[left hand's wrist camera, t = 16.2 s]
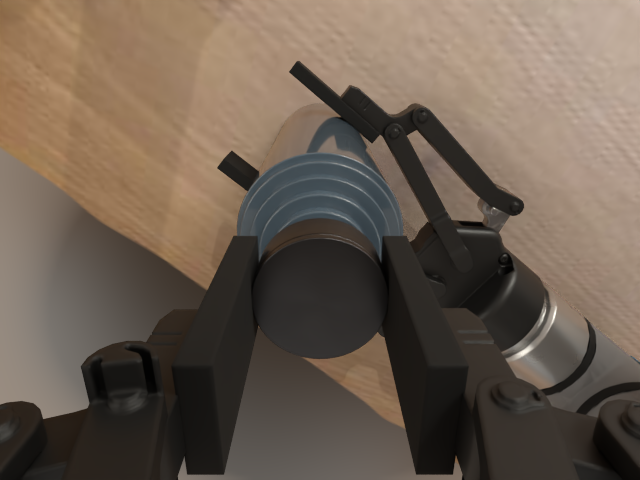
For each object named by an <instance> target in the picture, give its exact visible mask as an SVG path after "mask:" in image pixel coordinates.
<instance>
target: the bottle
mask: <svg viewBox="0 0 640 480" xmlns="http://www.w3.org/2000/svg"><path fill="white" fill-rule="evenodd" d="M312 218H327V219H334V220H338V221H341V222H344V223H347V224H349V225H351V226H353V227H355V228H356V229H358V230H359V231H361V232H362V233H363V234H364V235H365V236H366V237H367V238H368V239H369V240H370V241H371V243H372V244H373V246H374V247H375V249H376V251H377V253H378V255H379V258H380V261H381V255H382V237H383V236H403V220H402V214H401V210H400V207H399V204H398V202H397V200H396V197H395V195H394V193H393V191H392V190H391V188H390V186H389V184H388V182H387V180H386V178H385V177H384V175H383V173H382V171H381V169H380V167H379V165H378V164H377V162H376V160H375V158H374V156H373V154H372V152H371V151H370V149H369V147H368V145H367V143H366V141H365V139H364V138H363V136H362V134H360V133H359V132H358V131H357V130H356V129H355V128H354V127H352V126H351V125H350V124H349V123H348V122H347V121H345V120H344V119H343V118H342V117H341V116H340V115H338V114H337V113H336V112H335V111H334V110H333V109H331V108H330V107H329V106H328V105H327V104H311V105H307V106H305V107H302V108H300V109H299V110H297V111H296V112H294V113H293V114H292V115H291V116H290V117H289V118H288V119H287V120H286V122H285V123H284V125H283V127H282V129H281V130H280V132H279V134H278V136H277V138H276V140H275V142H274V143H273V145H272V147H271V149H270V151H269V153H268V155H267V156H266V158H265V160H264V162H263V164H262V166H261V168H260V169H259V171H258V173H257V175H256V177H255V179H254V181H253V182H252V184H251V186H250V188H249V190H248V192H247V194H246V195H245V198H244V200H243V202H242V205H241V207H240V211H239V215H238V221H237V236H258V253H259V262H260V259H261V256H262V253H263V251H264V249H265V247H266V246H267V244H268V243H269V242H270V240H271V239H272V238H273V237H274V236H275V235H276V234H277V233H279V232H280V231H281V230H282V229H284V228H286V227H287V226H289V225H291V224H294V223H296V222H299V221H302V220H306V219H312Z"/></svg>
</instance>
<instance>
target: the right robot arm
mask: <svg viewBox="0 0 640 480" xmlns="http://www.w3.org/2000/svg"><path fill="white" fill-rule="evenodd" d="M289 72H290V73H291V74H292V75H293V76H294V77H295V78H297V79H298V80H299V81H300V82H301V83H302V84H304V85H305V86H306V87H307V88H308V89H309V90H311V91H312V92H313V93H314V94H315V95H316V96H317V97H319V98H320V99H321V100H322V101H323V102H324V103H326V104H327V105H328V106H329V107H330V108H331V109H333V110H334V111H335V112H336V113H337V114H338V115H340V116H341V117H342V118H343V119H344V120H345V121H347V122H348V123H349V124H350V125H351V126H352V127H354V128H355V129H356V130H357V131H358V132H359V133H360V134H362V135H363V136H364V137H365V138H366V139H367V140H369V141H370V142H371V143H373V142H374V141H375V140H376V138H377V137H378V136H379V135H382V136H383V138H384V140H385V142H386V143H387V145H388V147H389V149H390V151H391V153H392V154H393V156H394V158H395V160H396V162H397V164H398V165H399V167H400V169H401V171H402V173H403V175H404V176H405V178H406V180H407V182H408V184H409V186H410V187H411V189H412V191H413V193H414V195H415V197H416V198H417V200H418V202H419V204H420V206H421V208H422V210H423V212H424V214H425V215H426V217H427V219H428V221H429V222H427V223H426V224H425V225H424V226H423V227H422V228H421V229H420V231H419V233H418V235H417V236H416V238H415V239H414V240H413V241H411V242H410V245H411V247H412V249H413V251H414V253H415V255H416V257H417V259H418V261H419V263H420V265H421V267H422V269H423V271H424V274H425V276H426V278H427V280H428V282H429V284H430V286H431V288H432V290H433V292H434V294H435V296H436V298H437V301H438V303H439V305H440V307H441V308H467V309H468V310H469V311H471V312H472V313H473V314H475V315H476V316H478V317H479V318H480V319H481V320H482V322H483V323H484V325H485V327H486V328H487V330H488V334H490V335H491V336H492V338H493V340H494V343H495V344H496V345H497V346H498V348H499V349H500V351H501V353H502V354H503V356H504V358H505V359H506V361H507V363H508V364H509V366H510V367H511V369H512V371H513V372H514V374H515V376H516V377H517V378H520V379H522V380H524V381H527V382H529V383H531V384H533V385H534V386H536V387H537V388H538V389H539V390H541V391H542V392H543V393H544V394H545V395H546V397H547V398H548V400H549V401H550V403H551V405H552V406H553V407H556V408H559V409H563V410H566V411H571V412H575V413H580V414H584V415H589V416H593V417H598V414H599V411H600V407H602V406H603V405H604V404H605V403H606V402H607V401H612V400H618V399H621V400H631V401H636V402H639V403H640V362H639V361H638V360H636V359H635V358H634V357H632V356H629V355H628V354H627V353H626V352H625V351H624V350H622V349H621V348H620V347H619V346H618V345H617V344H615V343H614V342H613V341H612V340H610V339H609V338H608V337H607V336H606V335H604V334H603V333H602V332H601V331H599V330H598V329H597V328H596V327H595V326H593V325H592V324H591V323H590V322H589V321H588V320H587V319H586V318H585V317H584V316H583V315H582V314H581V313H580V312H579V311H578V310H576V309H575V308H574V307H573V306H572V305H571V304H569V303H568V302H567V301H566V300H565V299H564V298H563V297H561V296H560V295H559V294H558V293H557V292H556V291H555V290H553V289H552V288H551V287H550V286H549V285H547V284H546V283H545V282H543V281H541V279H540V278H539V277H538V276H537V275H536V274H535V273H534V272H533V271H532V270H530V269H529V268H528V267H527V266H526V265H525V264H524V263H522V262H521V261H520V260H519V259H518V258H517V257H515V256H514V255H513V254H512V253H511V252H510V251H509V250H507V249H506V248H505V247H504V245H503V243H502V239H501V236H500V234H499V231H500V230H501V228H502V227H503V225H504V224H505V222H506V221H507V219H508V218H509V216H510V215H511V216H515V215H518V214H520V213H521V212H522V211H523V208H524V203H523V201H522V200H520V199H519V198H518V197H516V196H515V195H513V194H512V193H511V192H509V191H508V190H506V189H505V188H503V187H501V186H499V185H496V184H494V183H493V182H492V181H491V180H490V178H489V177H488V176H487V175H486V174H485V173H484V172H483V170H482V169H481V168H480V167H479V166H478V165H477V164H476V162H475V161H474V160H473V159H472V158H471V157H470V156H469V154H468V153H467V152H466V151H465V150H464V149H463V148H462V146H461V145H460V144H459V143H458V142H457V141H456V139H455V138H454V137H453V136H452V135H451V134H450V133H449V131H448V130H447V129H446V128H445V127H444V126H443V125H442V123H441V122H440V121H439V120H438V119H437V118H436V117H435V115H434V114H433V113H432V112H431V111H430V110H429V109H428V108H426V107H424V106H422V105H420V104H416V103H415V104H411V105H410V106H408V108H407V109H405V110H404V111H402V112H400V113H398V114H395V115H390V114H387V113H386V112H385V111H384V110H382V109H381V108H380V107H379V106H378V105H377V104H376V103H375V102H374V101H372V100H371V99H370V98H369V97H368V96H367V95H366V94H365V93H363V92H362V91H361V90H360V89H359V88H357V87H354V86H351V85H350V86H349V87H348V88H347V89H346V90H345V92H344V93H343V94H342V95H341V97H340V96H339V95H337V94H336V93H335V92H334V91H333V90H332V89H331V88H329V87H328V86H327V85H326V84H325V83H324V82H323V81H321V80H320V79H319V78H318V77H317V76H316V75H315V74H313V73H312V72H311V71H310V70H309V69H308V68H307V67H305V66H304V65H303V64H302V63H301V62H300V61H297V62H296V63H295V65H294V66H293V67H292V69H291V70H290V71H289ZM415 130H418V132H419V133H420V134H421V135H422V136H423V137H424V138H425V139H426V140H427V142H428V143H429V144H430V145H431V146H432V147H433V148H434V149H435V151H436V152H437V153H438V154H439V155H440V156H441V157H442V158H443V159H444V161H445V162H446V163H447V164H448V165H449V166H450V167H451V168H452V169H453V171H454V172H455V173H456V174H457V175H458V176H459V177H460V178H461V180H462V181H463V182H464V183H465V184H466V185H467V186H468V187H469V188H470V189H471V190H472V191H473V192H474V193H475V194H476V195H478V196H479V197H480V199H479V202H478V208H479V210H480V211H481V212H482V213H483V214H484V220H483V222H473V221H456V220H451V218H450V216H449V215H448V213H447V211H446V210H445V208H444V206H443V204H442V202H441V200H440V198H439V196H438V195H437V193H436V191H435V189H434V187H433V185H432V183H431V181H430V179H429V177H428V175H427V174H426V172H425V170H424V168H423V166H422V164H421V162H420V160H419V158H418V156H417V154H416V153H415V151H414V149H413V147H412V145H411V143H410V141H409V139H408V137H407V135H408V134H410V133H412V132H414V131H415ZM217 168H218V169H219V170H220V171H222V172H223V173H224V174H226V175H227V176H228V177H230V178H231V179H232V180H234V181H235V182H236V183H237V184H239V185H240V186H241V187H243V188H244V189H245V190H247V191H248V190H249V188H250V186H251V184H252V182H253V181H254V179H255V177H256V175H257V173H258V171H257V170H256V169H255V168H253V167H252V166H251V165H250V164H248V163H247V162H246V161H244V160H243V159H242V158H241V157H239V156H238V155H237V154H235V153H234V152H233V151H231V152H230V153H229V154H228V155H227V156H226V157H225V158H224V159H223V161H222V162H221V163H220V165H219V166H218V167H217ZM378 333H379V334H380V335H381V336H382V337H384V332H383V328H382V326H381V327H380V329H379V330H378Z"/></svg>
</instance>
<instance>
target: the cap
mask: <svg viewBox="0 0 640 480" xmlns="http://www.w3.org/2000/svg"><path fill="white" fill-rule="evenodd" d="M251 295H252V310H253V314H254V317H255V319H256V321H257V324H258V325H259V327H260V329H261V330H262V331H263V333H264V334H265V335H266V336H267V337H268V338H269V339H270V340H271V341H272V342H273V343H274V344H276V345H277V346H278V347H280V348H282V349H283V350H285V351H287V352H290V353H292V354H294V355H298V356H301V357H306V358H313V359H328V358H335V357H339V356H343V355H346V354H348V353H351V352H353V351H355V350H357V349H359V348H360V347H362V346H363V345H365V344H366V343H367V342H368V341H369V340H371V339H372V338H373V336H374V335H375V334H376V333H377V332H378V330H379V329H380V327H381V326H382V324H383V322H384V320H385V317H386V314H387V311H388V297H389V290H388V285H387V282H386V278H385V275H384V272H383V268H382V265H381V261H380V258H379V255H378V253H377V251H376V249H375V247H374V246H373V244H372V243H371V241H370V240H369V239H368V238H367V237H366V236H365V235H364V234H363V233H362V232H361V231H359V230H358V229H356V228H355V227H353V226H351V225H349V224H347V223H344V222H341V221H338V220H334V219H327V218H312V219H306V220H302V221H299V222H296V223H294V224H291V225H289V226H287V227H286V228H284V229H282V230H281V231H280V232H279V233H277V234H276V235H275V236H274V237H273V238H272V239H271V240H270V242H269V243H268V244H267V246H266V247H265V249H264V251H263V253H262V256H261V259H260V262H259V265H258V268H257V272H256V275H255V279H254V282H253V286H252V291H251Z"/></svg>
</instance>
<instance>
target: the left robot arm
mask: <svg viewBox="0 0 640 480" xmlns="http://www.w3.org/2000/svg"><path fill="white" fill-rule="evenodd" d="M258 265H259V253H258V236H233V239H232V241H231V243H230V245H229V247H228V249H227V251H226V253H225V255H224V257H223V259H222V261H221V263H220V265H219V268H218V270H217V272H216V274H215V276H214V278H213V280H212V282H211V284H210V286H209V288H208V290H207V292H206V295H205V297H204V299H203V301H202V303H201V305H200V307H199V309H198V310H173V311H171V312H170V313H169V314H167V315H166V316H165V317H163V318H162V319H161V320H160V321H159V322H158V324H157V325H156V327H155V329H154V330H153V332H152V335H150V337H149V339H148V340H147V342H142V341H125V342H120V343H115V344H112V345H109V346H107V347H104V348H102V349H99V350H98V351H96V352H95V353H93V354H92V355H91V356H89V357H88V358H87V359H86V361H85V362H84V363H83V364H82V366H81V369H82V373H83V377H84V382H85V386H86V390H87V394H88V398H89V403H90V404H89V406H88V408H87V409H84V410H80V411H77V412H74V413H69V414H64V415H60V416H56V417H51V418H47V419H43V417H42V414H41V410H40V409H39V408H38V407H37V406H36V405H35V404H33V403H29V402H24V401H18V402H9V403H4V404H1V405H0V480H178V473H179V470H180V467H181V465H182V462H183V459H184V456H185V462H186V469H187V474H188V475H190V474H191V475H193V474H194V475H195V474H196V475H197V474H198V475H199V474H201V475H202V474H203V475H207V474H209V475H215V474H217V475H220V474H221V475H223V474H224V472H225V467H226V463H227V459H228V454H229V450H230V446H231V442H232V437H233V433H234V428H235V424H236V420H237V415H238V411H239V407H240V402H241V398H242V394H243V389H244V385H245V381H246V376H247V372H248V368H249V363H250V359H251V355H252V350H253V346H254V341H255V337H256V333H257V328H258V324H257V321H256V319H255V317H254V314H253V310H252V295H251V291H252V286H253V282H254V279H255V275H256V272H257V268H258ZM381 265H382V268H383V272H384V275H385V278H386V282H387V285H388V290H389V297H388V311H387V314H386V317H385V320H384V322H383V324H382V328H383V332H384V337H385V341H386V345H387V350H388V354H389V358H390V363H391V367H392V372H393V376H394V380H395V385H396V389H397V393H398V398H399V402H400V406H401V411H402V415H403V419H404V424H405V428H406V432H407V437H408V441H409V445H410V450H411V454H412V458H413V463H414V467H415V471H416V474H447V475H448V474H450V475H452V474H453V470H454V463H455V456H457V459H458V462H459V465H460V468H461V471H462V474H463V476H462V480H640V403H639V402H636V401H631V400H621V399H618V400H612V401H607V402H606V403H605V404H604V405H603V406H602V407H600V411H599V414H598V417H593V416H589V415H584V414H580V413H575V412H571V411H566V410H563V409H559V408H556V407H553V406H552V405H551V403H550V401H549V400H548V398H547V397H546V395H545V394H544V393H543V392H542V391H541V390H539V389H538V388H537V387H536V386H534V385H533V384H531V383H529V382H527V381H524V380H522V379H520V378H517V377H516V376H515V374H514V372H513V371H512V369H511V367H510V366H509V364H508V363H507V361H506V359H505V358H504V356H503V354H502V353H501V351H500V349H499V348H498V346H497V345H496V344H495V343H494V340H493V338H492V336H491V335H490V334H488V330H487V328H486V327H485V325H484V323H483V322H482V320H481V319H480V318H479V317H478V316H476V315H475V314H473V313H472V312H471V311H469V310H468V309H467V308H441V307H440V305H439V303H438V301H437V298H436V296H435V294H434V292H433V290H432V288H431V286H430V284H429V282H428V280H427V278H426V276H425V274H424V271H423V269H422V267H421V265H420V263H419V261H418V259H417V257H416V255H415V253H414V251H413V249H412V247H411V245H410V242H409V240H408V238H407V236H383V237H382V255H381Z"/></svg>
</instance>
